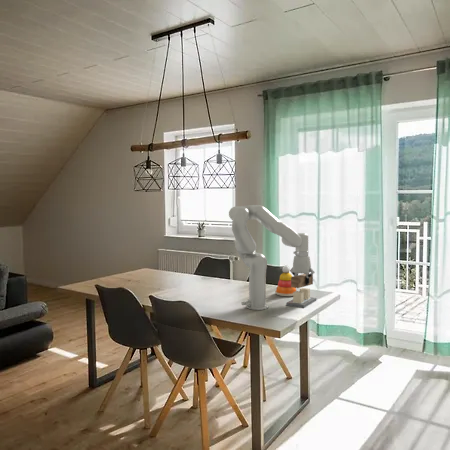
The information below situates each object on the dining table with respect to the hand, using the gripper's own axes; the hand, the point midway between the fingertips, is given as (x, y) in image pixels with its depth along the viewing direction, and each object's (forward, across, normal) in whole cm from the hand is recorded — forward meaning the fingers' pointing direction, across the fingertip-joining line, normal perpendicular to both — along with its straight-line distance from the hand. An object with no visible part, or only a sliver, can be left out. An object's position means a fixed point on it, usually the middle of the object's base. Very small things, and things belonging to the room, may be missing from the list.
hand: (302, 283), depth 258 cm
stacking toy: (+12, -17, +14) cm, 25 cm away
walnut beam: (+1, 0, 0) cm, 1 cm away
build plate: (+12, 0, 0) cm, 12 cm away
